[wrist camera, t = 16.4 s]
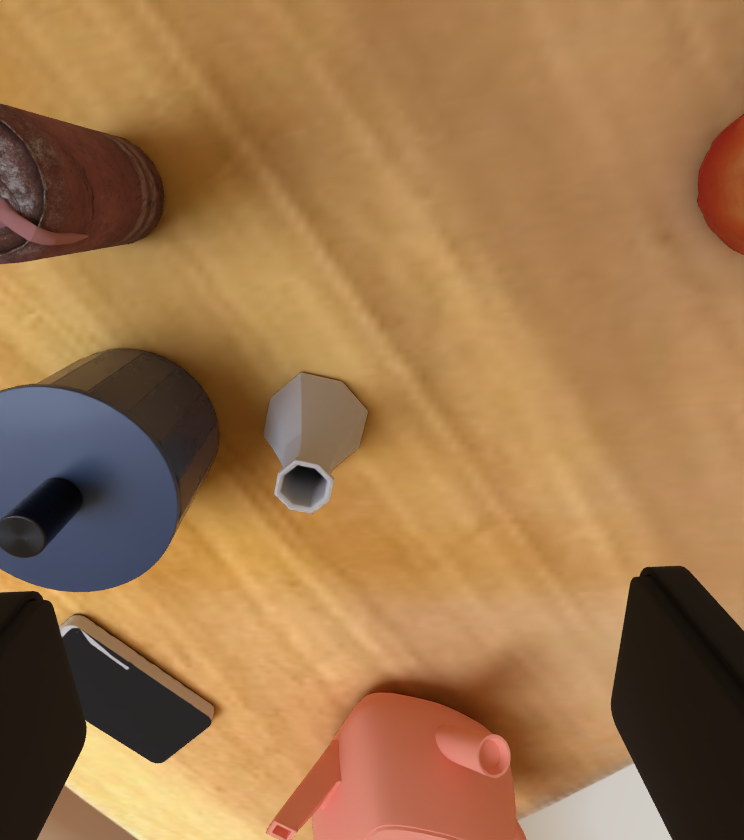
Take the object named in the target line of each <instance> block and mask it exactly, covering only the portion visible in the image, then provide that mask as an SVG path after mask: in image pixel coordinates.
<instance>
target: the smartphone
mask: <svg viewBox="0 0 744 840" xmlns="http://www.w3.org/2000/svg"><path fill="white" fill-rule="evenodd" d="M59 629H60V632H61V636H62V640H63V643H64V647H65V650H66V654H67V657H68V661H69V664H70V668H71V671H72V675H73V679H74V682H75V686H76V689H77V693H78V696H79V700H80V703H81V707H82V710H83V714H84V718H85V720H86V721H87V722H89V723H90V724H92V725H94V726H95V727H97V728H98V729H100V730H102V731H103V732H105V733H106V734H108V735H110V736H111V737H113V738H114V739H116V740H117V741H119V742H121V743H122V744H124V745H125V746H127V747H129V748H130V749H132V750H133V751H135V752H136V753H138V754H140V755H141V756H143V757H144V758H146V759H148V760H149V761H151V762H153V763H162V762H164V761H166V760H167V759H168V758H170V757H171V756H172V755H173V754H175V753H176V752H177V751H178V750H180V749H181V748H182V747H184V746H185V745H186V744H187V743H189V742H190V741H191V740H192V739H194V738H195V737H196V736H198V735H199V734H200V733H201V732H203V731H204V730H205V729H206V728H208V727H209V726H210V725H211V721H212V718H213V714H214V707H213V705H212V704H210V703H209V702H207V701H206V700H204V699H203V698H202V697H200V696H199V695H197V694H196V693H194V692H193V691H191V690H190V689H189V688H187V687H186V686H184V685H183V684H181V683H180V682H179V681H177V680H176V679H174V678H173V677H171V676H170V675H168V674H167V673H166V672H164V671H163V670H161V669H160V668H158V667H157V666H155V665H154V664H153V663H151V662H150V661H148V660H147V659H145V658H144V657H142V656H141V655H140V654H138V653H137V652H135V651H134V650H132V649H131V648H129V647H128V646H127V645H125V644H124V643H122V642H121V641H119V640H118V639H117V638H115V637H114V636H112V635H111V634H109V633H108V632H106V631H105V630H104V629H102V628H101V627H99V626H98V625H96V624H95V623H93V622H92V621H91V620H89V619H88V618H86V617H85V616H82V615H73V616H71V617H70V618H69V619H68V620H67V621H66V622H65V623H63V624H62V625H61V626H60V627H59Z"/></svg>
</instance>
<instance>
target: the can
mask: <svg viewBox="0 0 744 840" xmlns="http://www.w3.org/2000/svg"><path fill="white" fill-rule="evenodd" d="M163 203H164V191H163V186H162V181H161V178H160V176H159V174H158V172H157V170H156V168H155V166H154V164H153V162H152V161H151V160H150V159H149V158H148V156H147V155H146V154H145V153H144V152H143V151H142V150H141V149H140V148H139V147H137V146H135V145H134V144H132V143H131V142H129V141H127V140H126V139H123V138H120V137H116V136H113V135H109V134H106V133H102V132H99V131H95V130H92V129H88V128H84V127H81V126H77V125H74V124H70V123H67V122H63V121H60V120H56V119H53V118H49V117H46V116H42V115H39V114H35V113H32V112H28V111H25V110H21V109H18V108H14V107H11V106H7V105H4V104H0V264H7V263H19V262H26V261H32V260H38V259H43V258H49V257H55V256H61V255H66V254H72V253H78V252H84V251H90V250H95V249H101V248H107V247H113V246H118V245H124V244H130V243H133V242H136V241H138V240H140V239H142V238H144V237H146V236H147V235H148V234H149V233H150V232H151V231H152V230H153V229H154V228H155V227H156V226H157V223H158V221H159V219H160V217H161V215H162V212H163Z"/></svg>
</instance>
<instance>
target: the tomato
mask: <svg viewBox="0 0 744 840" xmlns="http://www.w3.org/2000/svg"><path fill="white" fill-rule="evenodd" d="M698 192H699V194H698V199H697V202H698V206H699V207H700V209H701V211H702V213H703V214H704V218H705V220H706V222H707V224H708V226H709V227H710V228H711V230H712V231H713V232H714V233H715V234H716V235H717V236H718V237H719V238H720V239H721V240H722V241H723V242H724V243H725V244H726V245H727V246H728V247H730V248H731V249H733V250H734V251H737V252H739V253H741V254H743V255H744V114H743V115H742V116H741V117H739V118H738V119H737V120H735V121H734V122H733V123H731V124H730V125H729V126H728V127H727V128H726V129H724V130H723V131H722V132H721V133H720V134H719V135H718V136H717V138H716V139H715V140H714V141H713V142H712V145H711V148H710V150H709V151H708V153H707V155H706V157H705V159H704V161H703V163H702V165H701V168H700V171H699V178H698Z"/></svg>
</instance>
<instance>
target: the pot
mask: <svg viewBox="0 0 744 840" xmlns="http://www.w3.org/2000/svg"><path fill="white" fill-rule="evenodd" d="M37 384H55V385H63V386H69V387H73V388H77V389H81V390H85V391H87V392H90V393H93V394H96V395H98V396H101V397H103V398H105V399H107V400H109V401H111V402H113V403H115V404H116V405H118V406H119V407H121V408H122V409H124V410H125V411H127V412H129V413H130V414H131V415H132V416H134V417H135V418H136V419H137V420H138V421H140V422H141V423H142V424H143V425H144V426H145V427H146V428H147V429H148V430H149V431H150V432H151V433H152V434H153V436H154V437H155V438H156V440H157V441H158V442H159V443H160V445H161V446H162V448H163V449H164V451H165V453H166V454H167V456H168V458H169V460H170V462H171V464H172V467H173V469H174V471H175V474H176V478H177V482H178V485H179V492H180V515H179V521H178V525H177V528H176V531H177V529H178V527H179V525H180V524H181V522H182V520H183V518H184V516H185V515H186V513H187V511H188V509H189V507H190V505H191V504H192V502H193V500H194V498H195V496H196V495H197V493H198V491H199V489H200V487H201V486H202V484H203V482H204V480H205V478H206V476H207V474H208V472H209V470H210V467H211V465H212V463H213V461H214V459H215V456H216V454H217V451H218V444H219V428H218V421H217V417H216V413H215V411H214V408H213V405H212V403H211V401H210V399H209V398H208V396H207V394H206V393H205V391H204V390H203V388H202V387H201V386H200V384H199V383H198V382H197V381H196V380H195V379H194V378H193V377H192V376H191V375H190V374H189V373H188V372H186V371H185V370H184V369H183V368H181V367H180V366H178V365H177V364H175V363H174V362H172V361H170V360H168V359H166V358H164V357H161V356H159V355H156V354H154V353H150V352H146V351H142V350H135V349H113V350H106V351H103V352H99V353H96V354H93V355H91V356H89V357H86V358H83V359H80V360H78V361H76V362H74V363H72V364H71V365H69V366H67V367H65V368H63V369H62V370H60V371H58V372H56V373H55V374H53V375H51V376H49V377H47V378H46V379H44V380H42V381H40V382H38V383H37ZM176 531H175V533H176ZM174 535H175V534H174Z"/></svg>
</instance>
